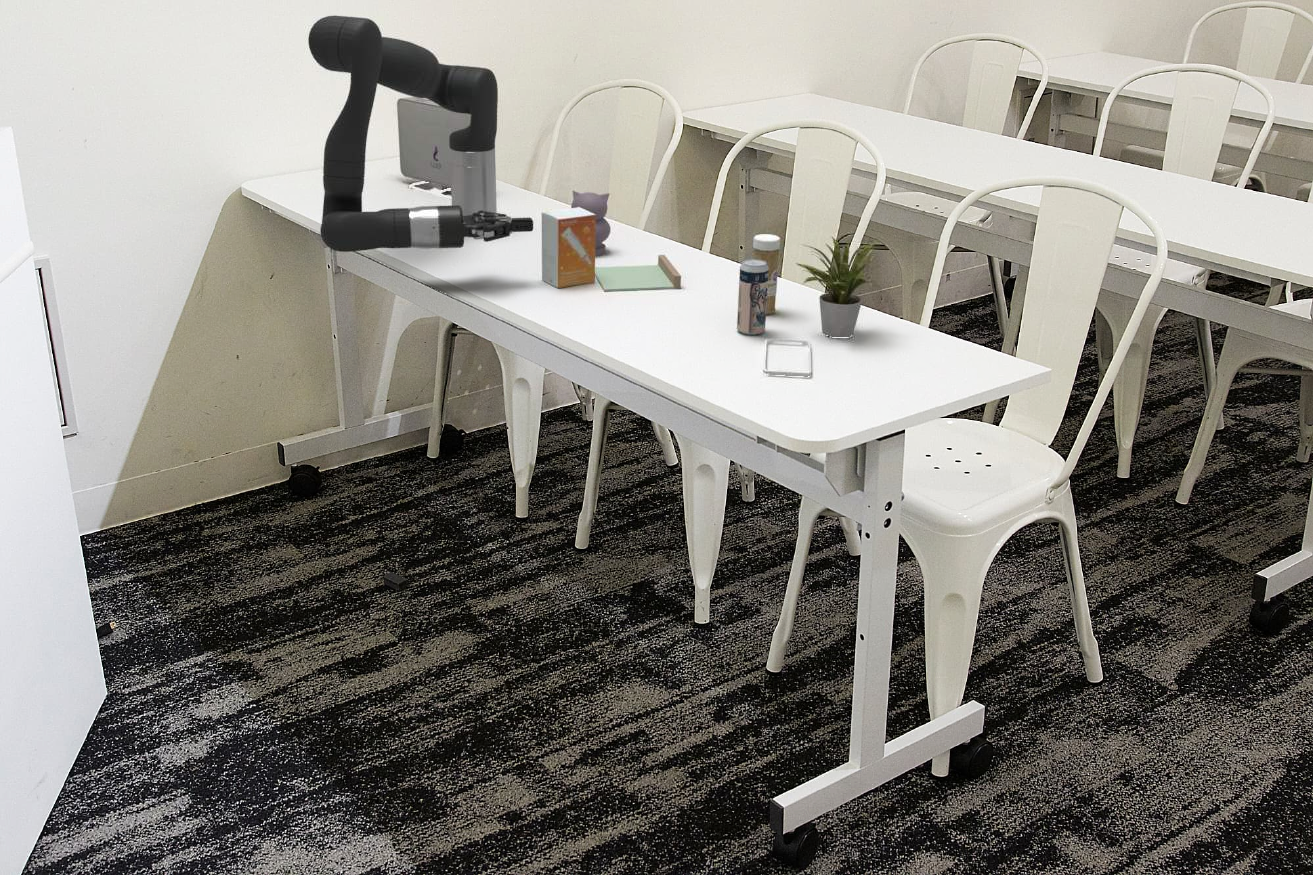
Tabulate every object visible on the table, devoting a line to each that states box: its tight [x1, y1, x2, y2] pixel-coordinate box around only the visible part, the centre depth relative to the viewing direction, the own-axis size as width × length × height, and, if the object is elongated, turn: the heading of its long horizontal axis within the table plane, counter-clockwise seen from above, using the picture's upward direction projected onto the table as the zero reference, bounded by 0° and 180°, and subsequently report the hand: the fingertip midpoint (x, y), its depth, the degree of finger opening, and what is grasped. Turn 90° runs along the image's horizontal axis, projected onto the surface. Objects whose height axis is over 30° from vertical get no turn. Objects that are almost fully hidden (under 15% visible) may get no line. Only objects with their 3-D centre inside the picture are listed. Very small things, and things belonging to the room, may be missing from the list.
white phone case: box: [762, 338, 812, 377], centre depth 209 cm, size 7×1×15 cm
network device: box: [396, 96, 471, 190], centre depth 303 cm, size 26×9×20 cm, turn 50°
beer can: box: [736, 258, 769, 336], centre depth 218 cm, size 5×5×12 cm
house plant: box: [795, 236, 880, 338], centre depth 219 cm, size 14×14×16 cm
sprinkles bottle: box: [752, 233, 781, 316], centre depth 228 cm, size 5×5×13 cm
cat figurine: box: [570, 190, 612, 257], centre depth 260 cm, size 8×8×12 cm
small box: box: [541, 207, 596, 289], centre depth 241 cm, size 8×6×13 cm
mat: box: [595, 254, 682, 292], centre depth 246 cm, size 14×14×2 cm
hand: (532, 224), depth 238 cm, fingers closed
